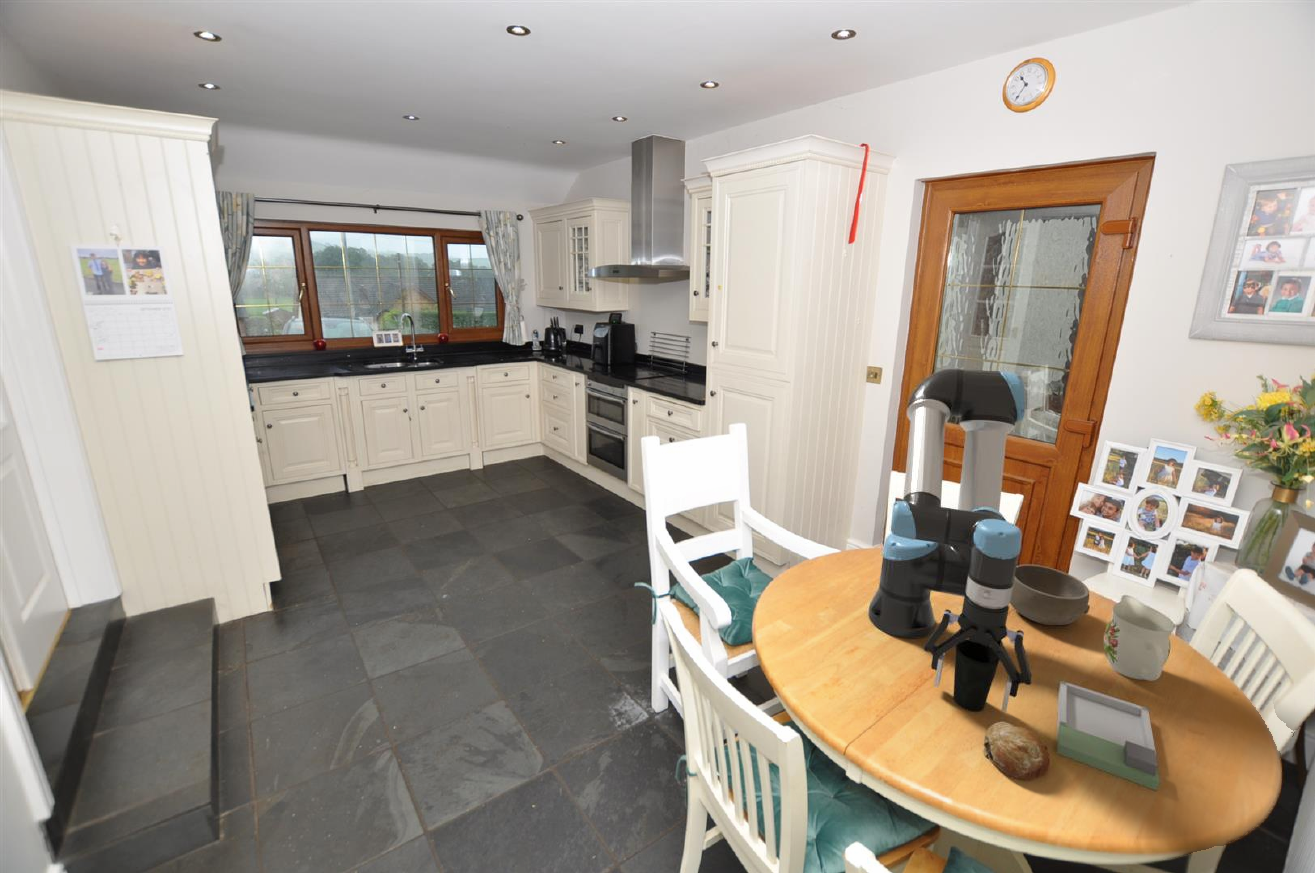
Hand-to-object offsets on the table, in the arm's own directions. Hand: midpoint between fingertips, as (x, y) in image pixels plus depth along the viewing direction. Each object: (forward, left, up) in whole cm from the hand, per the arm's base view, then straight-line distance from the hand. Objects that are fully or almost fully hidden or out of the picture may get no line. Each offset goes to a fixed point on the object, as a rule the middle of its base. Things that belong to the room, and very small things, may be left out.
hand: (969, 694), depth 117 cm
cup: (0, 0, -2) cm, 2 cm away
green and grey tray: (+22, +4, -2) cm, 22 cm away
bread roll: (+9, -11, -2) cm, 14 cm away
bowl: (+11, +45, -2) cm, 46 cm away
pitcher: (+28, +30, -2) cm, 41 cm away
